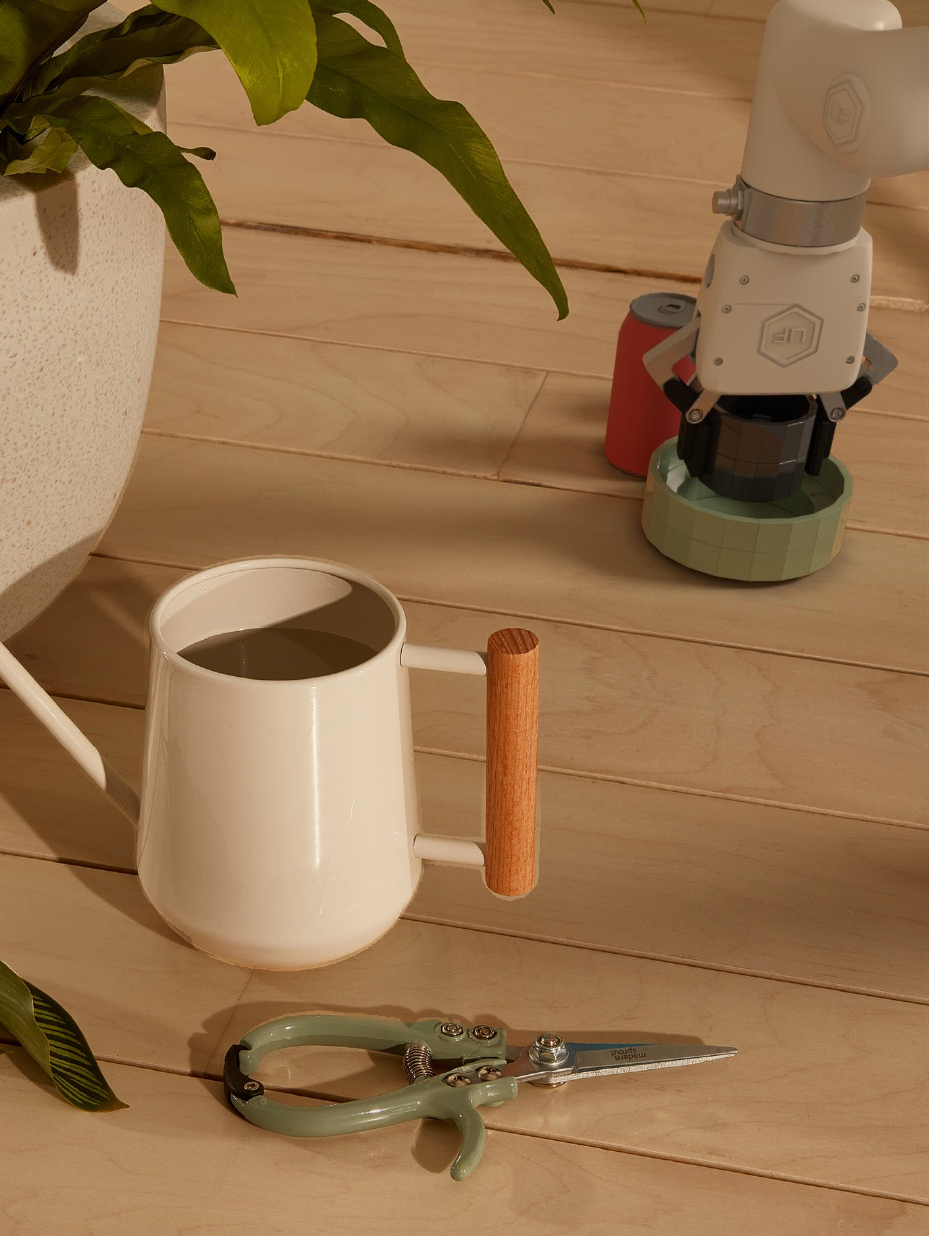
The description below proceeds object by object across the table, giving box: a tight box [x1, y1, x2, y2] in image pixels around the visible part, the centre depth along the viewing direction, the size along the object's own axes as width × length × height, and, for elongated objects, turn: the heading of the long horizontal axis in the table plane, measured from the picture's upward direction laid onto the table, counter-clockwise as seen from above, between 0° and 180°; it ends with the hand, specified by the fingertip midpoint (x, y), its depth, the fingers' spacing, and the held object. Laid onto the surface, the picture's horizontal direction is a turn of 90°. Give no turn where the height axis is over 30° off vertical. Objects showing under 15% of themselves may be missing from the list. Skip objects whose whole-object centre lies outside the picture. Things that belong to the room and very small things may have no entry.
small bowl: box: [697, 394, 818, 503], centre depth 114 cm, size 7×7×6 cm
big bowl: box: [640, 436, 854, 582], centre depth 117 cm, size 13×13×5 cm
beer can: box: [603, 291, 698, 479], centre depth 124 cm, size 7×7×12 cm
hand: (749, 465), depth 115 cm, fingers closed on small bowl, 7 cm apart
